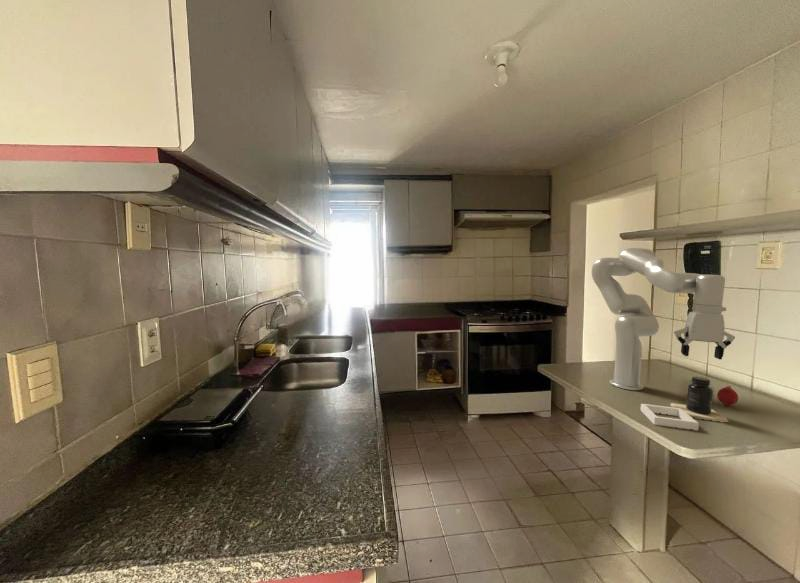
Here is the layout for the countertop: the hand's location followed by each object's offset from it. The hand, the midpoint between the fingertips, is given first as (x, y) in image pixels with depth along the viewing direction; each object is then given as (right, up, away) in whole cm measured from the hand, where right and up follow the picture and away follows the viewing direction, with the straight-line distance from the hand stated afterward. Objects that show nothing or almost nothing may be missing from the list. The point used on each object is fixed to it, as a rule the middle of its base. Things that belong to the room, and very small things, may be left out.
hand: (701, 356), depth 121 cm
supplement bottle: (0, -20, +1) cm, 20 cm away
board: (0, -21, +1) cm, 21 cm away
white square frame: (-16, -21, -5) cm, 26 cm away
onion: (+18, -21, +9) cm, 29 cm away
